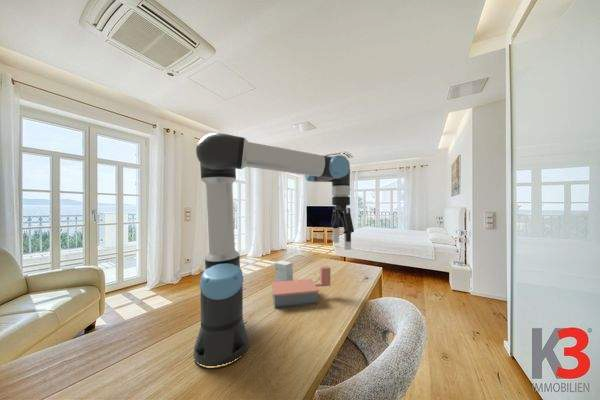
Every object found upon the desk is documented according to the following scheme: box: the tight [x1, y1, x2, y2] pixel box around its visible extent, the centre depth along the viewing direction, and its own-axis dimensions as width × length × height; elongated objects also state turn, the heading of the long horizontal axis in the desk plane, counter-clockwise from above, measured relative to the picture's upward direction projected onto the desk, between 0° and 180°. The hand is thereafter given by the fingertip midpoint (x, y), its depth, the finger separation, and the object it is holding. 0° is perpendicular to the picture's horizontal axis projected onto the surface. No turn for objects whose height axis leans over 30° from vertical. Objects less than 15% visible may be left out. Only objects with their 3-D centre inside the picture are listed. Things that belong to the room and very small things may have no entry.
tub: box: [272, 292, 318, 309], centre depth 92 cm, size 18×12×5 cm, turn 102°
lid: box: [271, 266, 331, 297], centre depth 93 cm, size 26×13×8 cm, turn 102°
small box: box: [274, 260, 294, 282], centre depth 112 cm, size 8×6×10 cm
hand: (341, 245), depth 89 cm, fingers open, 13 cm apart
